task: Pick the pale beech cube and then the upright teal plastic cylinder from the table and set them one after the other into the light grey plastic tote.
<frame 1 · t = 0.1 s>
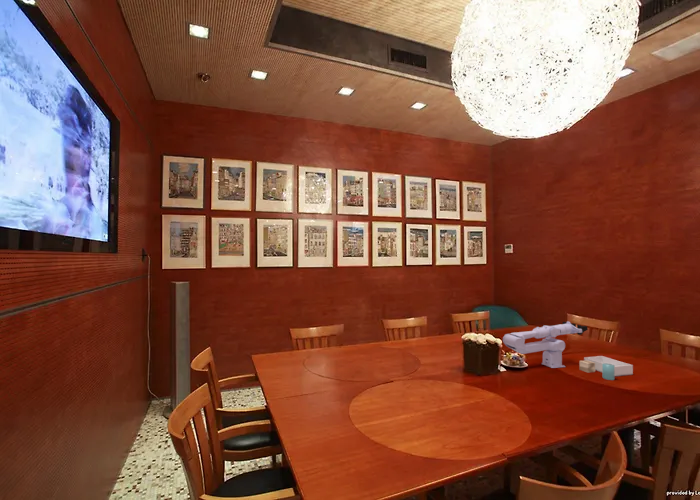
hand: (581, 326, 205), 21 cm above the table, fingers open, 7 cm apart
beech cube: (587, 370, 191), on the table
tote: (607, 370, 192), on the table
teal cylinder: (608, 378, 179), on the table
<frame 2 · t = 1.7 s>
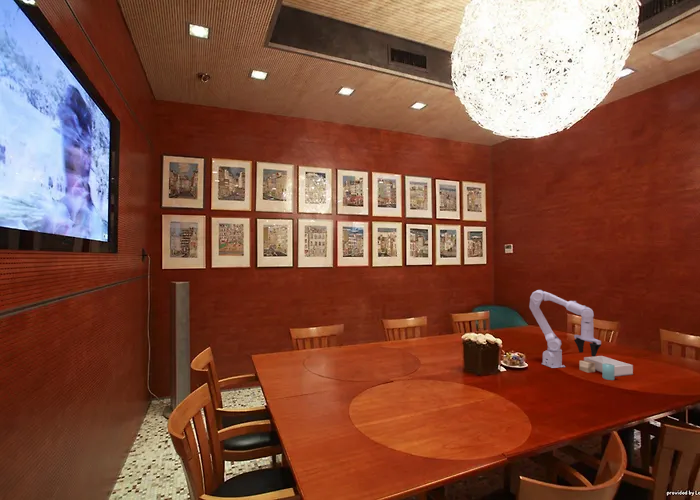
hand: (587, 354, 191), 9 cm above the table, fingers open, 7 cm apart
nothing on the table moved.
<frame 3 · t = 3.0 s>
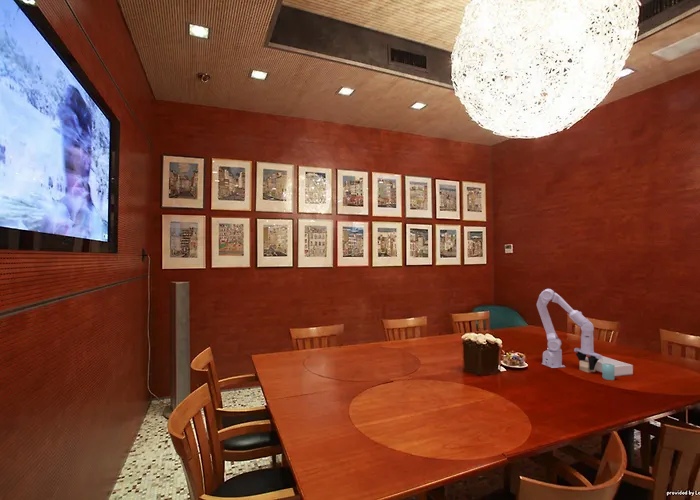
hand: (587, 368, 191), 1 cm above the table, fingers closed on beech cube, 5 cm apart
beech cube: (587, 370, 191), on the table, touching gripper
everything else where it was.
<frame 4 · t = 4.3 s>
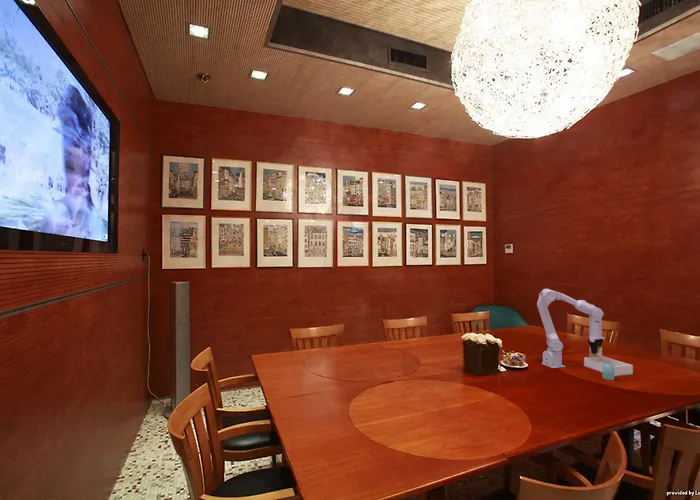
hand: (595, 352, 194), 9 cm above the table, fingers closed on beech cube, 5 cm apart
beech cube: (595, 355, 194), point 7 cm above the table, touching gripper
everything else where it was.
when the fingers open (4 cm above the table, at t = 6.1 s): beech cube drops 1 cm, resting on tote.
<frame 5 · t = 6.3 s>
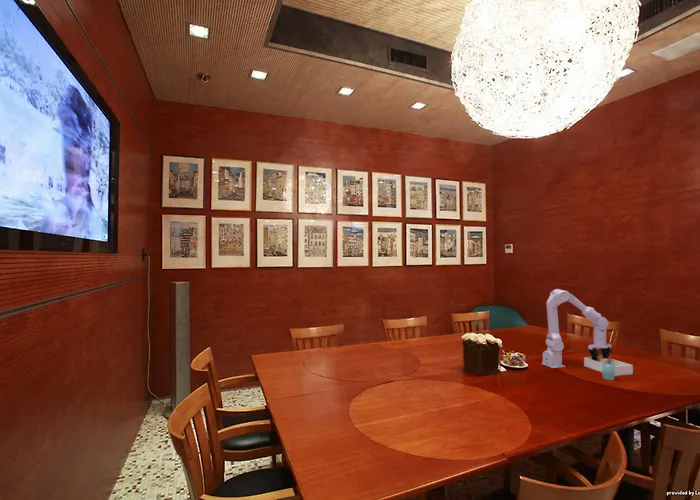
hand: (599, 361, 196), 4 cm above the table, fingers open, 7 cm apart
beech cube: (599, 366, 196), point 1 cm above the table, touching tote
everything else where it was.
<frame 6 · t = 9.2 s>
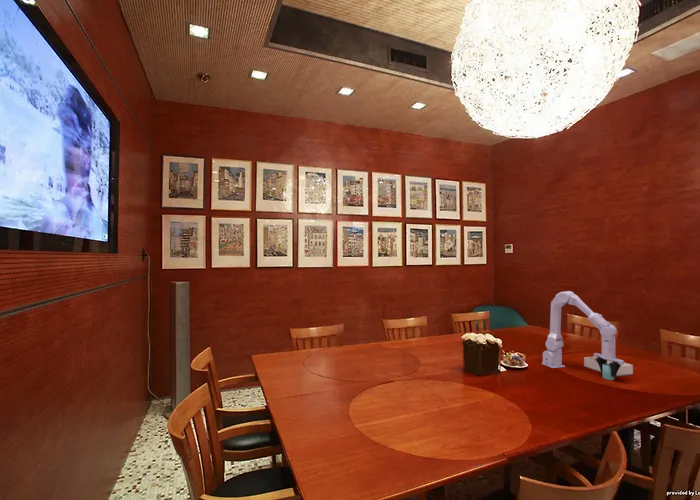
hand: (608, 374, 179), 2 cm above the table, fingers closed on teal cylinder, 5 cm apart
teal cylinder: (608, 378, 179), on the table, touching gripper
everything else where it was.
when the fingers open (4 cm above the table, at t = 12.4 s): teal cylinder drops 1 cm, resting on tote.
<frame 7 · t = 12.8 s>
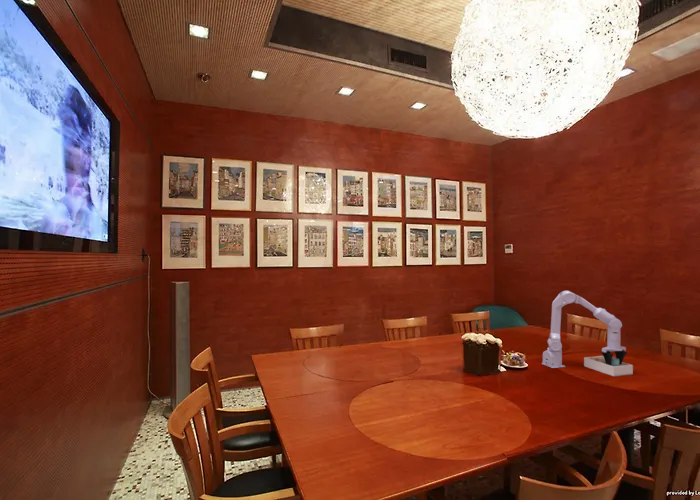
hand: (613, 364, 189), 4 cm above the table, fingers open, 7 cm apart
teal cylinder: (613, 371, 189), point 1 cm above the table, touching tote
everything else where it was.
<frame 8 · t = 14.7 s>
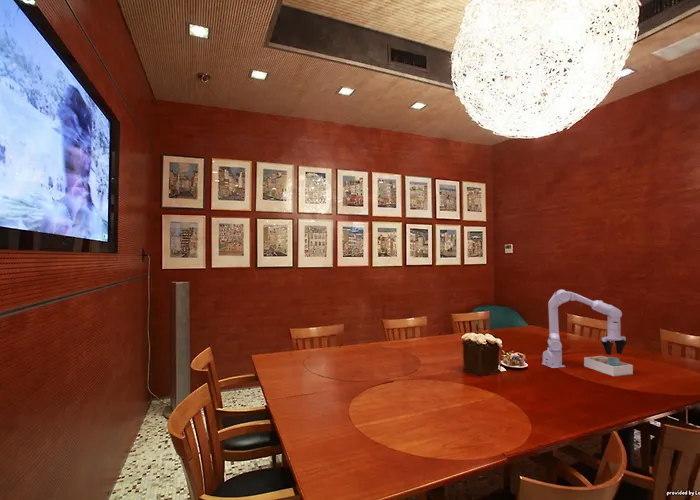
hand: (613, 354, 189), 10 cm above the table, fingers open, 7 cm apart
nothing on the table moved.
at the end: beech cube inside the target area on the tote (4.5 cm from its centre), point 0.6 cm above the tote's base; teal cylinder inside the target area on the tote (3.2 cm from its centre), point 0.6 cm above the tote's base; the gripper is holding nothing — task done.
